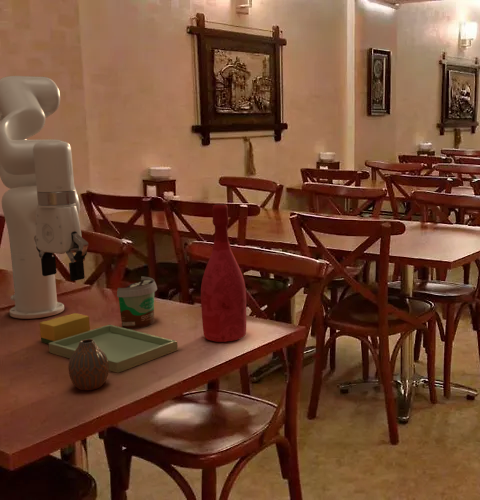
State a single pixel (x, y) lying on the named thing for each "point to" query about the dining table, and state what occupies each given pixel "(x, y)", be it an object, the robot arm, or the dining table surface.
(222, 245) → the wine bottle
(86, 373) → the vase
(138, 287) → the food container
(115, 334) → the tray
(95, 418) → the dining table surface
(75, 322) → the sponge
